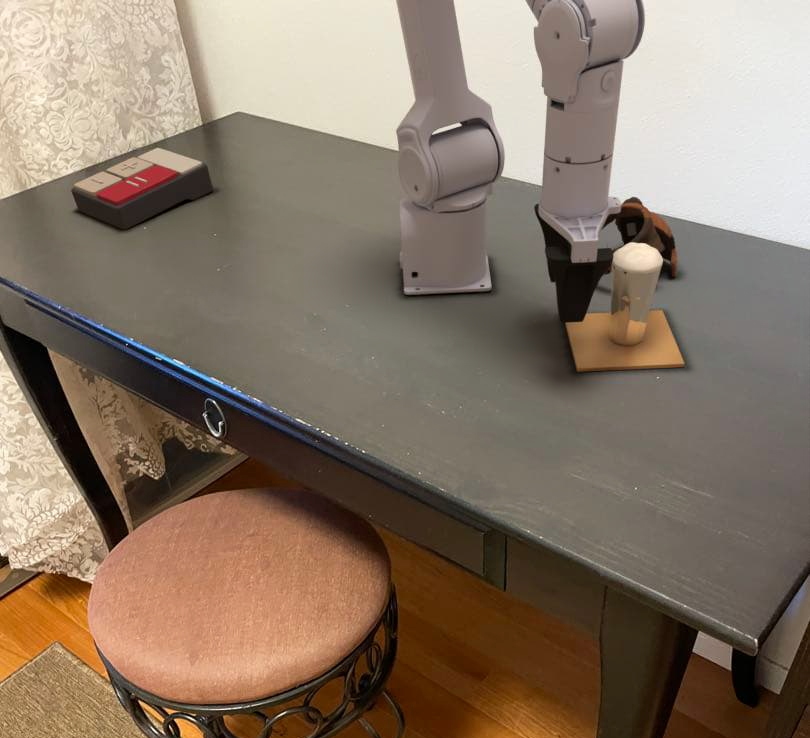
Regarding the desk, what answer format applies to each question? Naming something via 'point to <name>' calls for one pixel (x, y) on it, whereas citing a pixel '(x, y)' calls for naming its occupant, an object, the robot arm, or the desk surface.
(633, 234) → the broken clay pot
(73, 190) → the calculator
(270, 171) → the desk surface
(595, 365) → the coaster
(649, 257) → the milkshake
